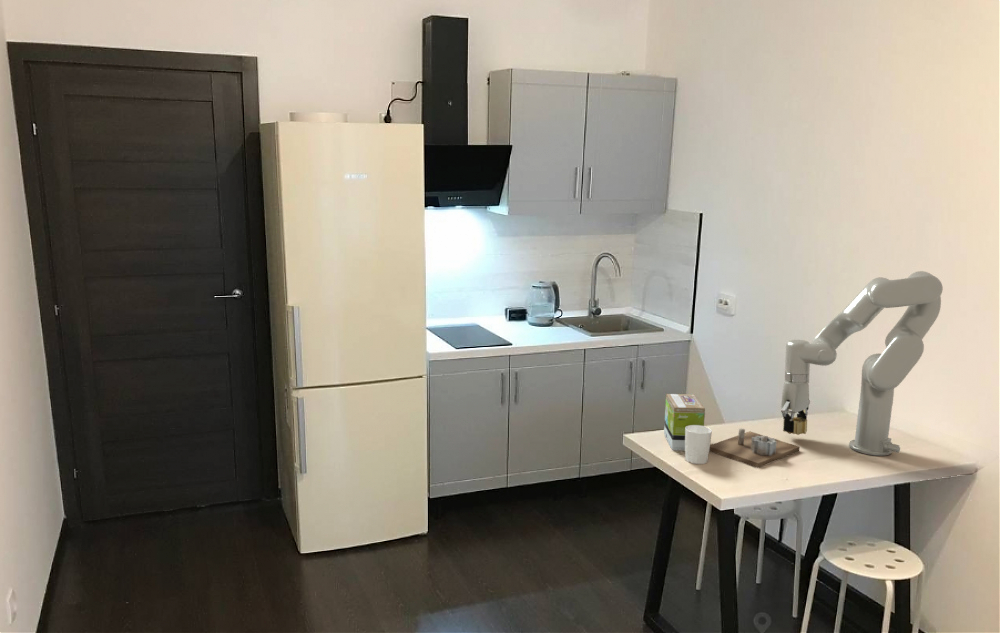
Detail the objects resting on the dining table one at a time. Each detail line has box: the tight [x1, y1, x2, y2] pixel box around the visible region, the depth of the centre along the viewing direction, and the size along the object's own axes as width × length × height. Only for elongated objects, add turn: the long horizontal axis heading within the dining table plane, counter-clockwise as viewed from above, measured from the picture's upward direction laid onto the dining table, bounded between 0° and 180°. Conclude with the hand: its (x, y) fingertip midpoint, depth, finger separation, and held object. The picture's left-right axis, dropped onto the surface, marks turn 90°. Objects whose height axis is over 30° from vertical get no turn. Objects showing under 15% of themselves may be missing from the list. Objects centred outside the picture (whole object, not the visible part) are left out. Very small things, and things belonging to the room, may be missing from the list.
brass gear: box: [782, 416, 808, 436], centre depth 252 cm, size 7×7×4 cm
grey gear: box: [751, 435, 777, 456], centre depth 236 cm, size 7×7×4 cm
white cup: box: [684, 425, 713, 465], centre depth 231 cm, size 8×8×10 cm
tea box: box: [663, 393, 706, 452], centre depth 245 cm, size 15×10×15 cm, turn 178°
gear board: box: [709, 428, 800, 469], centre depth 240 cm, size 18×24×6 cm
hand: (795, 428), depth 252 cm, fingers closed on brass gear, 7 cm apart
